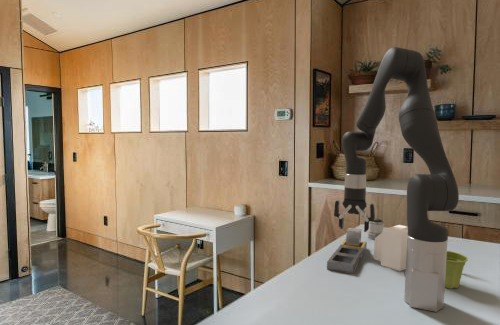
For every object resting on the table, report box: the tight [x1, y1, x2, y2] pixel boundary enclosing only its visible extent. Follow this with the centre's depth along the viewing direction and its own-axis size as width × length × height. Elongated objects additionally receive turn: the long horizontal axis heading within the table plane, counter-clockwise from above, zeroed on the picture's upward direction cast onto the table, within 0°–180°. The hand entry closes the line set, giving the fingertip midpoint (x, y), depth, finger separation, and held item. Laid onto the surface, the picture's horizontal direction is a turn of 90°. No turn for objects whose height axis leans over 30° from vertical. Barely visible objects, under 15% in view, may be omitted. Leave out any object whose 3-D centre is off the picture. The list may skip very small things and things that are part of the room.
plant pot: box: [445, 250, 468, 289], centre depth 105 cm, size 9×9×9 cm
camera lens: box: [366, 218, 385, 240], centre depth 152 cm, size 6×6×8 cm
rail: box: [326, 239, 368, 275], centre depth 127 cm, size 28×8×3 cm, turn 154°
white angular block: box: [373, 224, 408, 272], centre depth 123 cm, size 11×11×12 cm
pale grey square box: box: [345, 227, 362, 248], centre depth 135 cm, size 4×4×8 cm
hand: (353, 230), depth 134 cm, fingers open, 8 cm apart
